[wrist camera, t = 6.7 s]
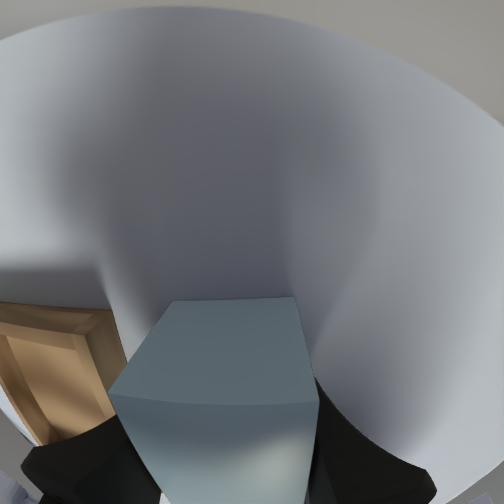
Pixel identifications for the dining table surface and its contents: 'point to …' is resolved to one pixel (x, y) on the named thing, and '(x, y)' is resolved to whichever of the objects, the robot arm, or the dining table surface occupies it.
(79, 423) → the tray
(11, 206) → the dining table surface
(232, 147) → the dining table surface
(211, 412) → the pale blue cuboid
